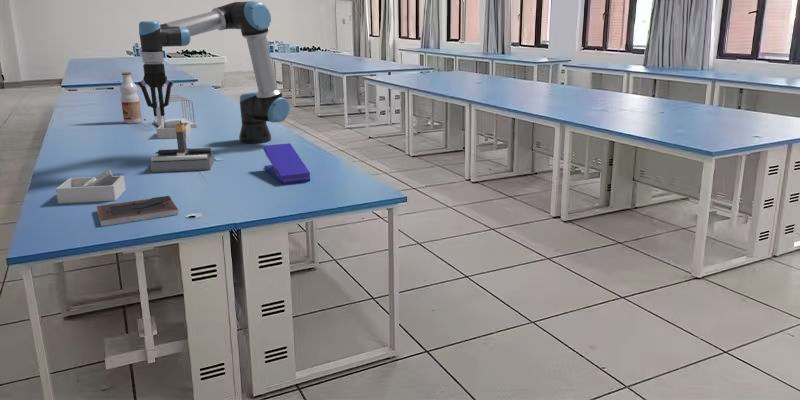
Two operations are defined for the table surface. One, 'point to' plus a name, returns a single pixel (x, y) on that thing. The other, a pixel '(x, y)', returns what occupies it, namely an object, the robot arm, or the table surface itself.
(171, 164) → the breaker panel
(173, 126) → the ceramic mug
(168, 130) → the mug tray
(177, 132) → the lever
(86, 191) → the tray
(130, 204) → the picture frame
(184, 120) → the file sorter
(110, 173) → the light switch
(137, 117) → the fruit juice
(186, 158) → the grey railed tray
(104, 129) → the table surface
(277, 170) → the stapler
